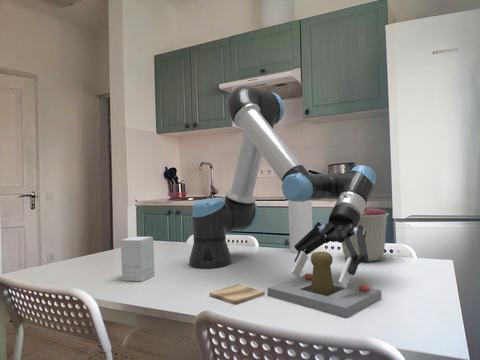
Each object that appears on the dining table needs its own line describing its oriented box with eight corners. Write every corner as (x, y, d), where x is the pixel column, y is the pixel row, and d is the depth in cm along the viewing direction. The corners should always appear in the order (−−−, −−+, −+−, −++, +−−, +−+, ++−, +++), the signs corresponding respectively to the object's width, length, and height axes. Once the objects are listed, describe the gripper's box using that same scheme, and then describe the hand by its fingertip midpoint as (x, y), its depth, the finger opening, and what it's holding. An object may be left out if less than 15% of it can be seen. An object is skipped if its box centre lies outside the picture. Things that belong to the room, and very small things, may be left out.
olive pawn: (307, 294, 88) (305, 250, 89) (330, 292, 89) (329, 249, 89) (314, 301, 82) (312, 255, 83) (339, 300, 83) (337, 253, 83)
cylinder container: (313, 253, 138) (310, 177, 138) (289, 253, 140) (286, 178, 140) (313, 249, 147) (310, 178, 148) (290, 249, 149) (288, 178, 150)
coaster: (209, 295, 90) (209, 292, 90) (238, 287, 96) (238, 284, 96) (235, 304, 82) (235, 301, 82) (264, 294, 89) (264, 291, 89)
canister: (346, 252, 139) (344, 199, 139) (395, 256, 128) (393, 199, 128) (329, 261, 124) (327, 202, 124) (383, 267, 113) (381, 202, 114)
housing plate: (267, 295, 88) (267, 283, 88) (305, 281, 99) (305, 271, 99) (346, 317, 72) (345, 303, 72) (381, 298, 83) (381, 286, 83)
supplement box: (155, 275, 112) (154, 236, 112) (141, 282, 105) (140, 240, 105) (135, 274, 114) (134, 235, 114) (121, 280, 107) (119, 239, 107)
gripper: (303, 202, 102) (270, 263, 92) (387, 204, 84) (358, 280, 73) (314, 219, 106) (284, 279, 95) (398, 224, 87) (371, 299, 77)
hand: (316, 279), depth 84 cm, fingers open, 13 cm apart
